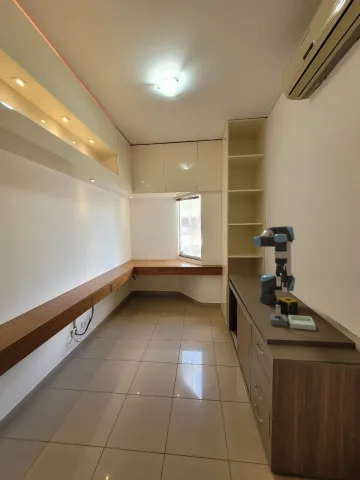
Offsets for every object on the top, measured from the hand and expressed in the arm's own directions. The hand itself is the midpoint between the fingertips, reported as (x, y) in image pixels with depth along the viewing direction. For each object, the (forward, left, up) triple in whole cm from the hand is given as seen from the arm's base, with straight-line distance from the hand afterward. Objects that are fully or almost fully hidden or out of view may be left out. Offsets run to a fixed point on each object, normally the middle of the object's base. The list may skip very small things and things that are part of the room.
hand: (281, 288), depth 152 cm
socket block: (-2, -2, -24) cm, 24 cm away
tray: (-2, +12, -24) cm, 27 cm away
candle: (-22, +6, -24) cm, 33 cm away
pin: (-2, -2, -24) cm, 24 cm away
